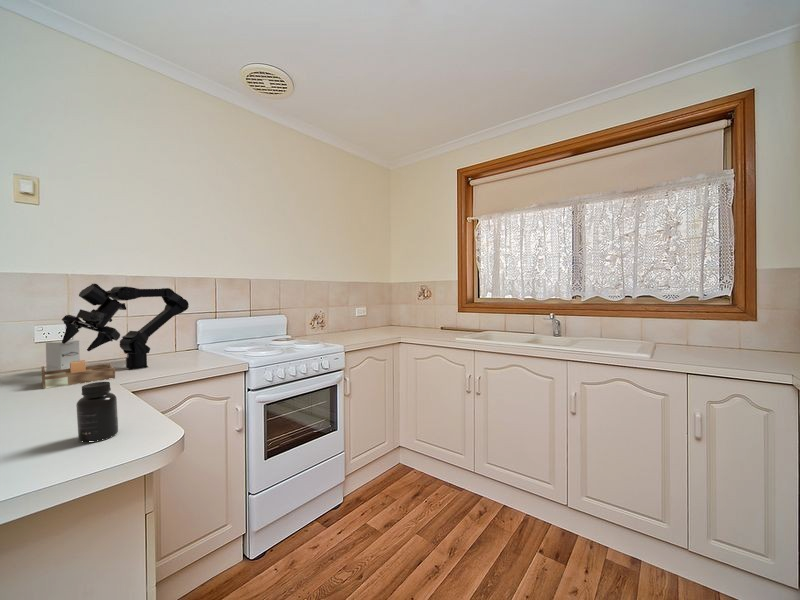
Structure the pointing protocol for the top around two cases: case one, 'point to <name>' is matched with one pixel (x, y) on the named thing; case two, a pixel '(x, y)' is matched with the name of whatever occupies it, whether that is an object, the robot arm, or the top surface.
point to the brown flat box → (76, 376)
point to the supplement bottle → (97, 412)
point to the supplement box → (61, 354)
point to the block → (77, 366)
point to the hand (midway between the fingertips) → (75, 347)
